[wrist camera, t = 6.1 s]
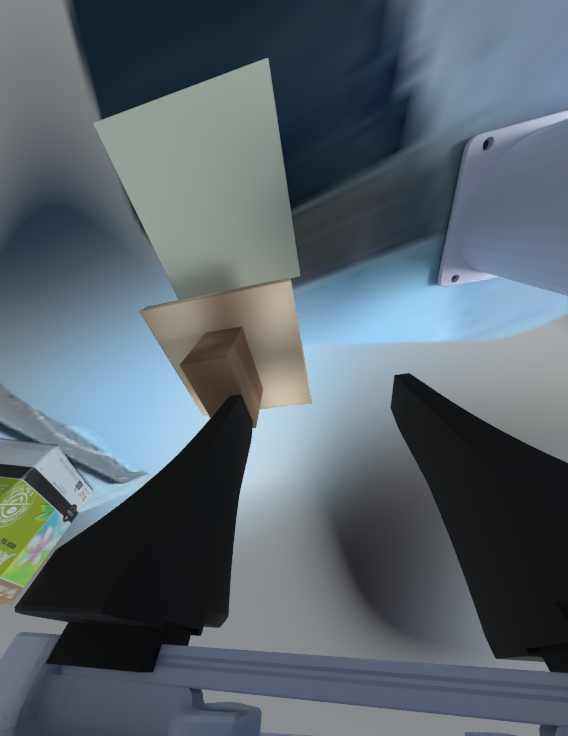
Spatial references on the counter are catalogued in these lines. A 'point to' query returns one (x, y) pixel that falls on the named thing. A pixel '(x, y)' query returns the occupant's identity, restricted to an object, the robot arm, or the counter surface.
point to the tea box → (33, 508)
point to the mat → (209, 182)
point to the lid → (235, 346)
